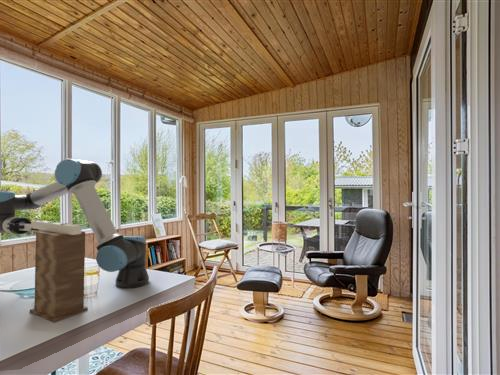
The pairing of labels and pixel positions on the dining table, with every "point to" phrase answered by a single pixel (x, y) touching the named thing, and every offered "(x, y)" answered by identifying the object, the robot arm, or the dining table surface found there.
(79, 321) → the dining table surface
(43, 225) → the domino bar
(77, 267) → the walnut post
